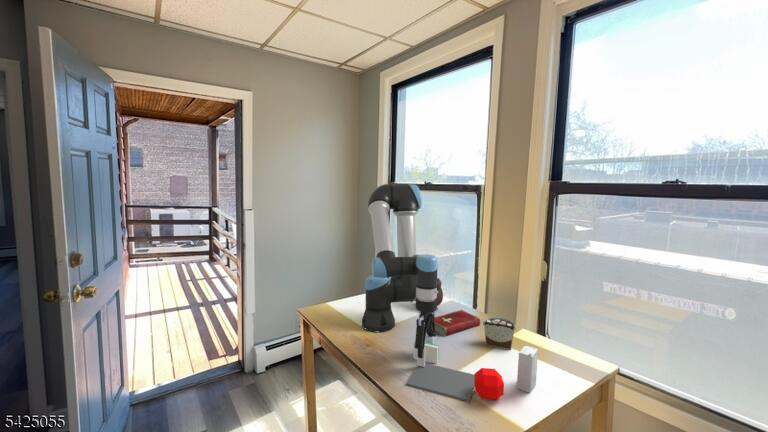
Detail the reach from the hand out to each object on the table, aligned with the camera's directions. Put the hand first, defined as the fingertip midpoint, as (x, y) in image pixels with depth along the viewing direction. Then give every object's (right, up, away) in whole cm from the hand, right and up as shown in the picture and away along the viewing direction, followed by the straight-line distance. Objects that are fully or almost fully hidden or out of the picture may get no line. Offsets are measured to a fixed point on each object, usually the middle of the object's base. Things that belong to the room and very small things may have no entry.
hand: (425, 359), depth 120 cm
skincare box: (+30, -2, -15) cm, 34 cm away
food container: (+31, 0, +13) cm, 34 cm away
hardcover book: (+17, +1, +30) cm, 34 cm away
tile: (0, -1, +1) cm, 2 cm away
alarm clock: (+8, +4, +50) cm, 51 cm away
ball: (+17, -3, -19) cm, 26 cm away
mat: (+4, -2, -12) cm, 13 cm away
